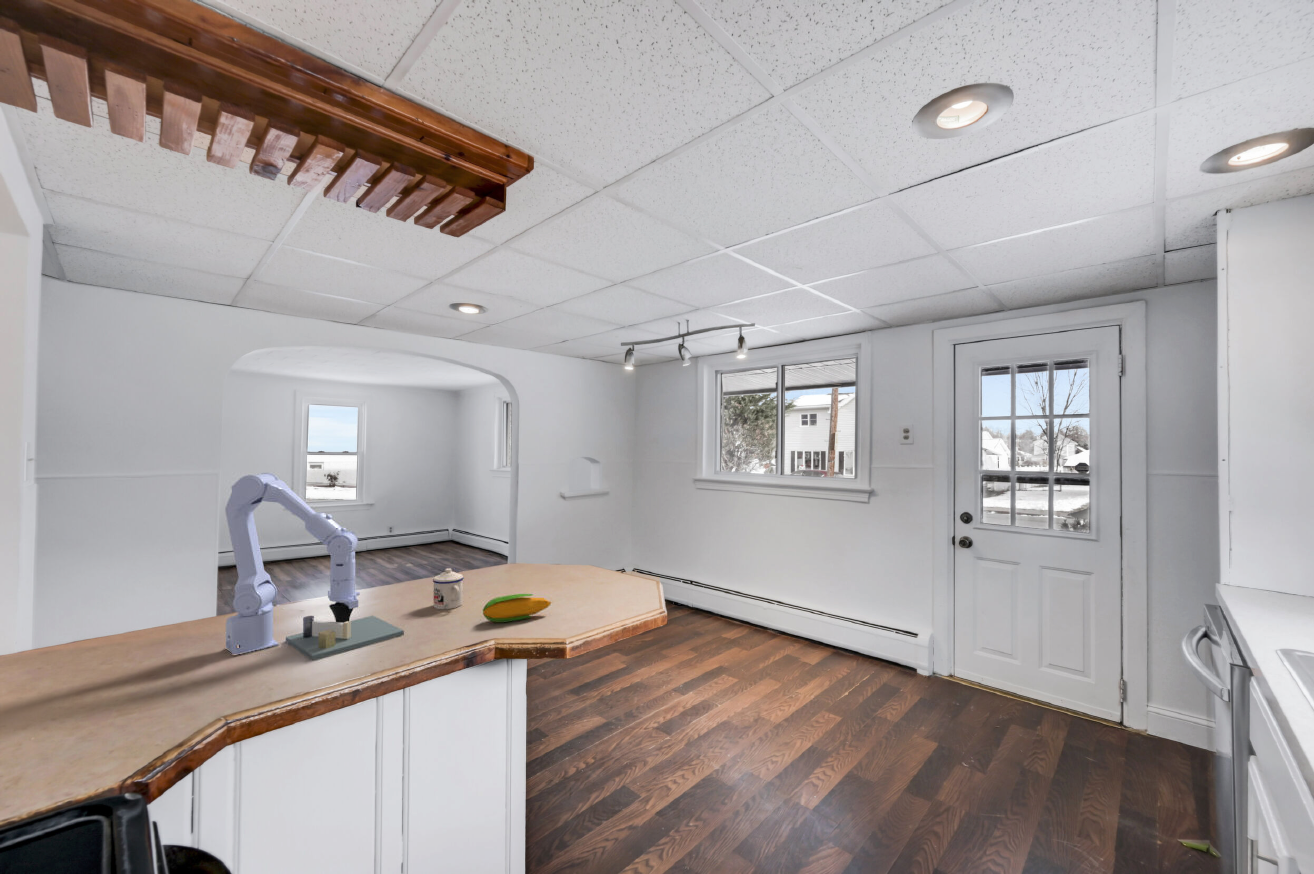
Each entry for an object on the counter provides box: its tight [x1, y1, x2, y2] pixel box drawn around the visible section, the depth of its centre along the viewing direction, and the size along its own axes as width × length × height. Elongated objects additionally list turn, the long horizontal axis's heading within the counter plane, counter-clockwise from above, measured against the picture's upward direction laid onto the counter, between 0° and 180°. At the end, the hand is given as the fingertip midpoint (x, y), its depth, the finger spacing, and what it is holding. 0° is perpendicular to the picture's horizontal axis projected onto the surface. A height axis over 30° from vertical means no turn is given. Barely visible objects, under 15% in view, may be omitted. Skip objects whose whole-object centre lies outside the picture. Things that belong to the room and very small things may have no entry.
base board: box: [285, 615, 405, 662], centre depth 145 cm, size 22×19×1 cm
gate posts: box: [302, 615, 335, 649], centre depth 139 cm, size 3×14×5 cm, turn 51°
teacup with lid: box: [432, 568, 464, 610], centre depth 172 cm, size 12×9×12 cm
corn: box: [482, 593, 552, 623], centre depth 161 cm, size 7×8×20 cm
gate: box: [312, 620, 351, 639], centre depth 141 cm, size 10×1×4 cm, turn 80°
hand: (342, 629), depth 143 cm, fingers closed, pressing on gate
